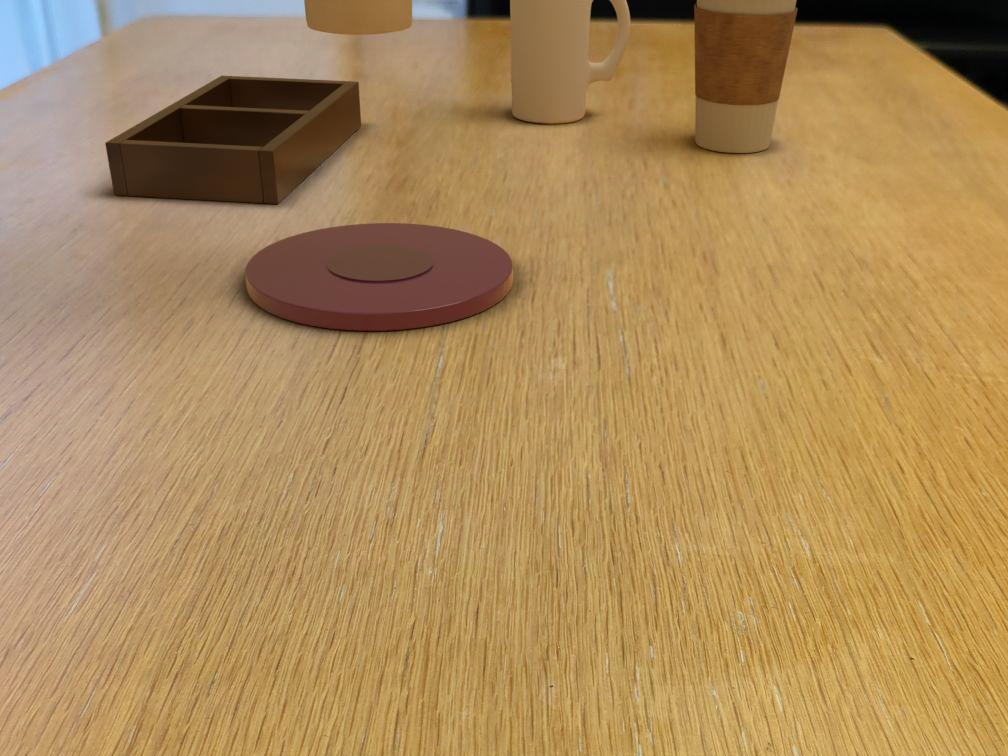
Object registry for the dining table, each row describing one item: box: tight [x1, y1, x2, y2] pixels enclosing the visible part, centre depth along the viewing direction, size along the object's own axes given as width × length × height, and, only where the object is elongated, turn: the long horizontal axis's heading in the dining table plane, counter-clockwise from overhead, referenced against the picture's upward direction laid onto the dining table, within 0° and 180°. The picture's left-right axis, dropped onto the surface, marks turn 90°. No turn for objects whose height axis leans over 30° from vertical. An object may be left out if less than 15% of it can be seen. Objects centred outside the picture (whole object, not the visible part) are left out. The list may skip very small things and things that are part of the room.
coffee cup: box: [693, 0, 798, 154], centre depth 92 cm, size 8×8×15 cm
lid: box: [244, 222, 514, 332], centre depth 69 cm, size 15×15×1 cm
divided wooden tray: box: [104, 75, 362, 205], centre depth 90 cm, size 12×22×4 cm, turn 173°
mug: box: [509, 0, 631, 125], centre depth 100 cm, size 10×7×12 cm, turn 95°
